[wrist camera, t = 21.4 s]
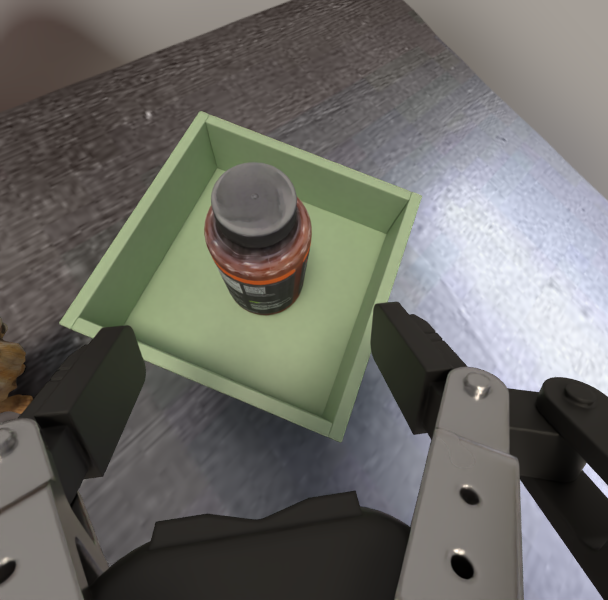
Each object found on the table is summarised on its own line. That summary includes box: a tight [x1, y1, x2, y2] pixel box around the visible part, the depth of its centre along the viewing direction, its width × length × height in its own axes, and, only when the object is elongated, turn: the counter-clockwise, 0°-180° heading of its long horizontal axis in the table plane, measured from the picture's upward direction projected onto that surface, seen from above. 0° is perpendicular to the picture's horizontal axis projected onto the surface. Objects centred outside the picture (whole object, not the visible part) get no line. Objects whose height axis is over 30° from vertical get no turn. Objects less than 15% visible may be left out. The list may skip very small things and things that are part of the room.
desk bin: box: [59, 111, 422, 443], centre depth 23 cm, size 18×18×6 cm
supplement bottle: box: [204, 162, 312, 315], centre depth 20 cm, size 6×6×11 cm
